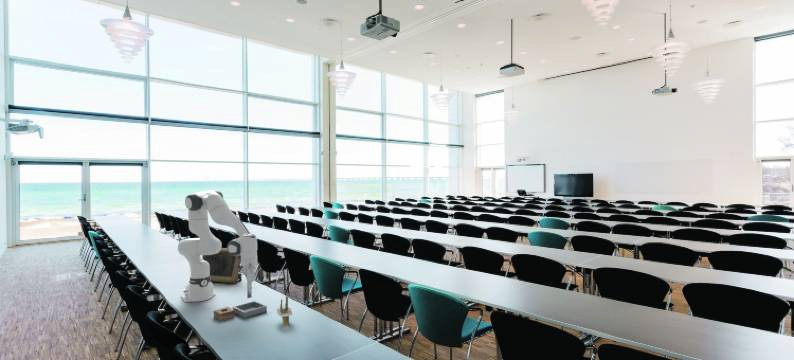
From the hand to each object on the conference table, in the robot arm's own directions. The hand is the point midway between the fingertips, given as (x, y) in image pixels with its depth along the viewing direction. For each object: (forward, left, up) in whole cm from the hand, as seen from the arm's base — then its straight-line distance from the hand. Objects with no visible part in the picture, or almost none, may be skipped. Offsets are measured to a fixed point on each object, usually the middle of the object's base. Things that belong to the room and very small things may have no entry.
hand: (249, 286), depth 218 cm
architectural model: (+29, +5, -16) cm, 34 cm away
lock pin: (0, 0, -7) cm, 7 cm away
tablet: (-79, +19, -16) cm, 82 cm away
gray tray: (0, 0, -16) cm, 16 cm away
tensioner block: (-4, -13, -16) cm, 21 cm away
